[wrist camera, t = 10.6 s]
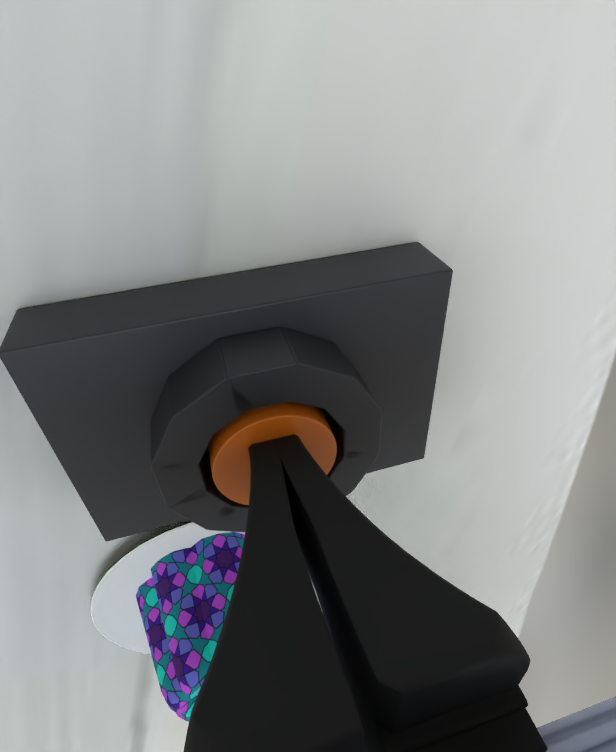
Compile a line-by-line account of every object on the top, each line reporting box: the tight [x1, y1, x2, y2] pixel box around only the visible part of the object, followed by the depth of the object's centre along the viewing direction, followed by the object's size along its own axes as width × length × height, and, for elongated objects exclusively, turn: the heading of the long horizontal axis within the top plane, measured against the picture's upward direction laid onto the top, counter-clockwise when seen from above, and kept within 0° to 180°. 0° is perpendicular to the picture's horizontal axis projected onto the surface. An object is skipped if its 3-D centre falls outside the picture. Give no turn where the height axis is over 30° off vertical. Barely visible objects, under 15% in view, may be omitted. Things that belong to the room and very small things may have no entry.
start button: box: [208, 401, 337, 505], centre depth 14 cm, size 4×4×2 cm
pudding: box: [90, 522, 319, 722], centre depth 21 cm, size 12×12×5 cm
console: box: [0, 242, 453, 541], centre depth 15 cm, size 12×8×4 cm, turn 93°
